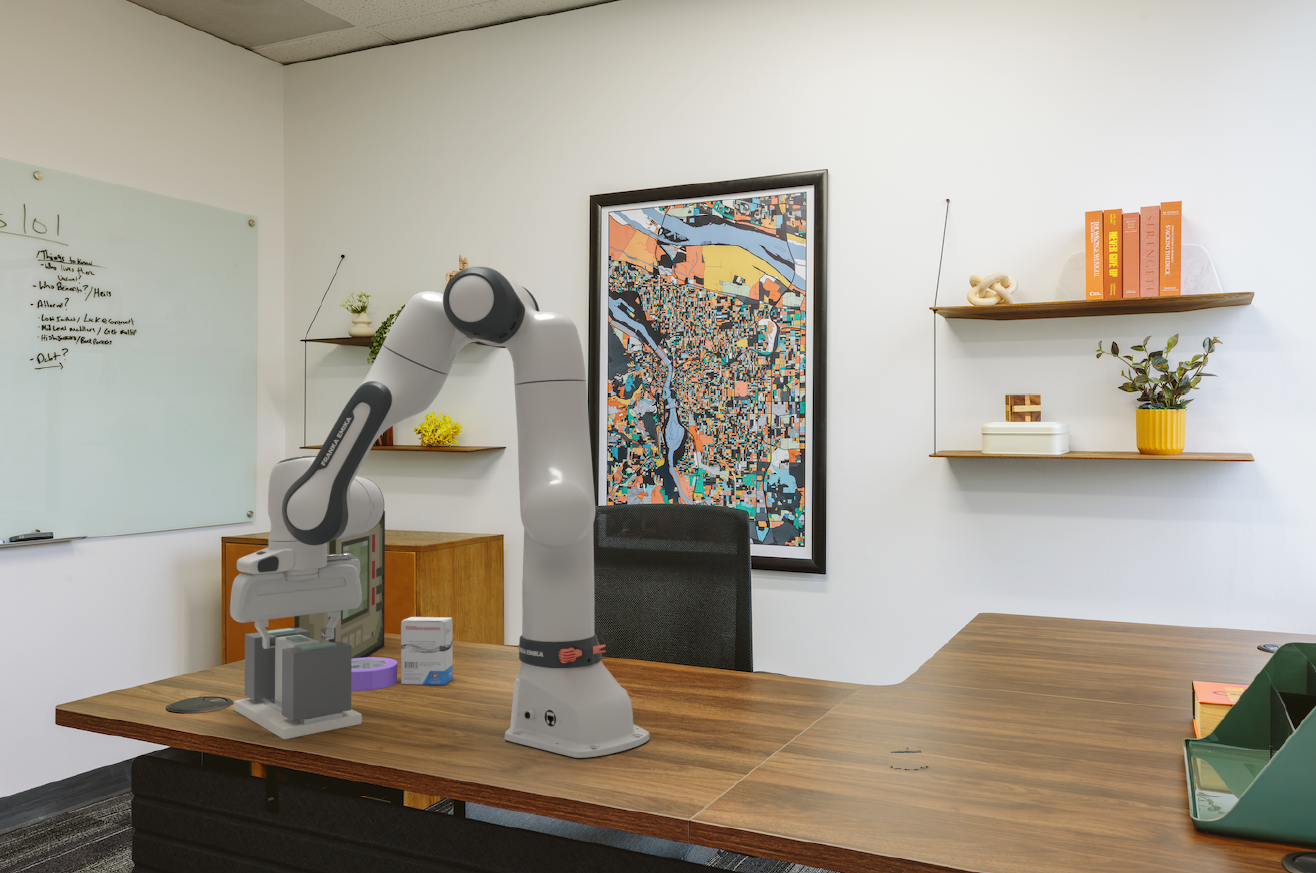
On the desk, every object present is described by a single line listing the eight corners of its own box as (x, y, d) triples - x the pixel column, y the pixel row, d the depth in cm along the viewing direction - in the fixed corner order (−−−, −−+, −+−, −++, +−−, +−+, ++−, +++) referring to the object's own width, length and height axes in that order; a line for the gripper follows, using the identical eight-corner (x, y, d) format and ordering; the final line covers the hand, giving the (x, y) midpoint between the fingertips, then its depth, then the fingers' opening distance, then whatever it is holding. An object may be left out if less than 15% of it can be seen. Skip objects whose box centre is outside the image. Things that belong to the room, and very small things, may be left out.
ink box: (453, 679, 175) (454, 616, 175) (445, 685, 170) (445, 620, 170) (409, 678, 176) (410, 615, 176) (399, 684, 171) (400, 620, 171)
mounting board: (361, 723, 145) (361, 714, 145) (284, 739, 137) (284, 729, 137) (306, 697, 161) (306, 688, 161) (233, 709, 153) (234, 700, 153)
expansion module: (299, 695, 154) (299, 633, 154) (319, 704, 148) (319, 640, 148) (274, 699, 151) (275, 636, 151) (293, 709, 145) (294, 643, 145)
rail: (343, 717, 143) (343, 712, 143) (304, 725, 139) (304, 719, 139) (288, 691, 159) (289, 686, 159) (252, 697, 155) (252, 692, 155)
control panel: (333, 678, 176) (334, 519, 176) (294, 678, 176) (295, 519, 176) (384, 646, 206) (384, 510, 206) (350, 646, 206) (351, 510, 206)
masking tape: (410, 683, 173) (410, 662, 173) (354, 695, 164) (354, 673, 164) (373, 674, 180) (373, 654, 180) (318, 685, 171) (318, 664, 171)
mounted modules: (351, 710, 145) (351, 643, 145) (293, 721, 139) (293, 651, 139) (298, 685, 160) (299, 625, 160) (244, 694, 154) (245, 632, 154)
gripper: (351, 550, 159) (352, 631, 159) (226, 561, 146) (226, 650, 145) (368, 553, 155) (369, 636, 154) (239, 564, 141) (240, 656, 141)
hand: (299, 643), depth 150 cm, fingers open, 8 cm apart
